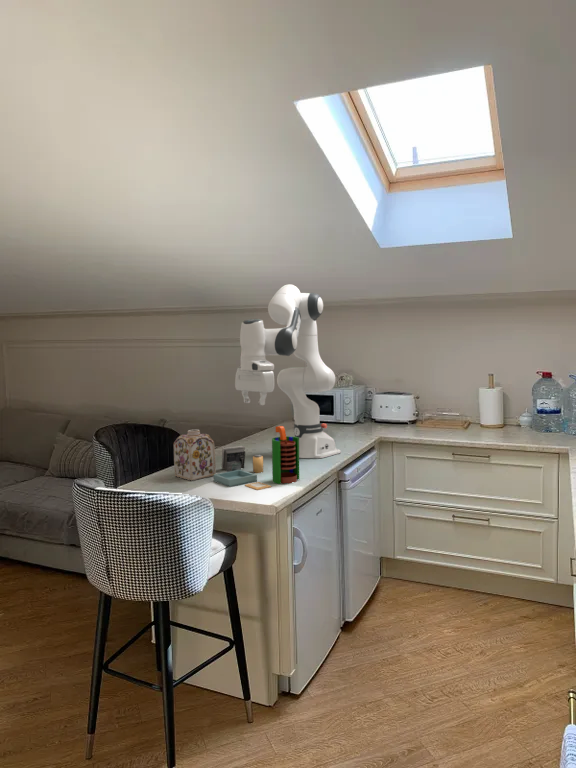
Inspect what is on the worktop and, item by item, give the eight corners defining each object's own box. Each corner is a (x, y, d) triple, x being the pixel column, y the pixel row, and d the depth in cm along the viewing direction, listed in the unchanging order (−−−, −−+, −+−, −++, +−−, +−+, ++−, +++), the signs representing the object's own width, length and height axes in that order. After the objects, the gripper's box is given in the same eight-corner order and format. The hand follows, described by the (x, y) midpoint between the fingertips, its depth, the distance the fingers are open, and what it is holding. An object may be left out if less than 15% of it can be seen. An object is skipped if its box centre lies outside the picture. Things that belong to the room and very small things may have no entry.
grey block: (235, 473, 233) (235, 460, 233) (241, 475, 230) (240, 462, 230) (226, 475, 231) (226, 462, 230) (232, 476, 228) (231, 464, 227)
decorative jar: (216, 475, 230) (214, 429, 228) (191, 481, 222) (189, 433, 221) (198, 471, 239) (196, 426, 237) (173, 476, 231) (171, 430, 229)
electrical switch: (243, 466, 245) (242, 444, 244) (247, 470, 241) (247, 447, 239) (221, 469, 242) (220, 447, 240) (225, 472, 237) (224, 450, 235)
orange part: (259, 470, 237) (259, 453, 237) (265, 471, 234) (264, 455, 234) (251, 471, 235) (250, 455, 235) (256, 473, 232) (256, 456, 231)
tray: (240, 476, 228) (239, 469, 228) (257, 481, 219) (256, 474, 219) (213, 481, 221) (213, 474, 221) (230, 487, 212) (229, 480, 212)
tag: (258, 482, 217) (258, 481, 217) (271, 487, 210) (271, 485, 210) (244, 485, 213) (244, 484, 213) (257, 490, 207) (257, 488, 207)
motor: (287, 485, 212) (285, 429, 211) (267, 482, 217) (265, 428, 216) (302, 479, 221) (301, 425, 219) (283, 476, 226) (281, 424, 224)
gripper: (230, 365, 216) (231, 402, 217) (261, 365, 200) (263, 406, 201) (244, 364, 220) (245, 401, 221) (277, 365, 204) (278, 405, 205)
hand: (254, 404), depth 211 cm, fingers open, 8 cm apart
